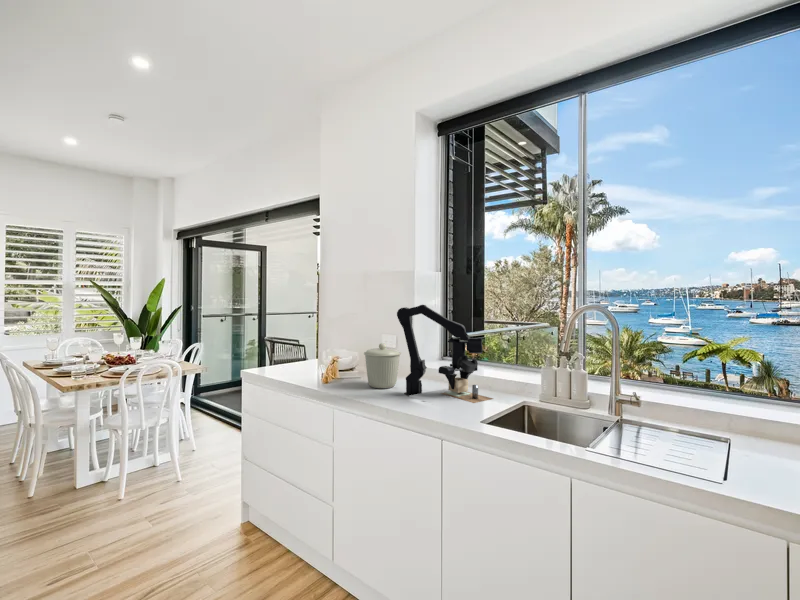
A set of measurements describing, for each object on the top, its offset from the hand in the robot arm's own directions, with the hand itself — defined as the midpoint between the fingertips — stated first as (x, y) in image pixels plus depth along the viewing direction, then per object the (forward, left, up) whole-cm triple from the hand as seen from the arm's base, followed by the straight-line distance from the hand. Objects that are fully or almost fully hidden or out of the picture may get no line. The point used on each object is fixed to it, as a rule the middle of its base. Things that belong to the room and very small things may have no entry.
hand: (458, 388), depth 185 cm
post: (0, -10, -2) cm, 10 cm away
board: (0, -5, -4) cm, 6 cm away
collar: (0, 0, -1) cm, 1 cm away
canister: (-15, +37, -4) cm, 40 cm away
